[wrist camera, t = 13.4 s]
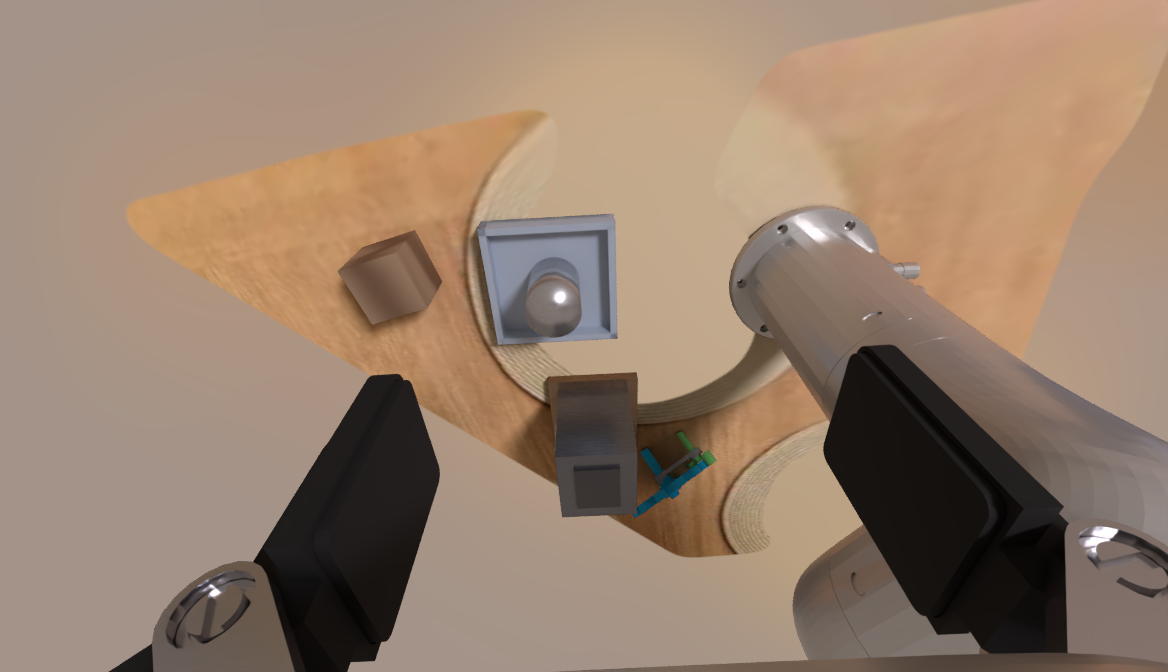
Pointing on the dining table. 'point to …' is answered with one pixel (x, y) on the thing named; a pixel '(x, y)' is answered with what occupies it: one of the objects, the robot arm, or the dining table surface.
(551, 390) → the box with rectangular openings
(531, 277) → the metal cylinder
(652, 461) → the blue green-pegged part
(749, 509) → the dining table surface
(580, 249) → the tray
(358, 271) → the block
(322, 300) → the dining table surface
